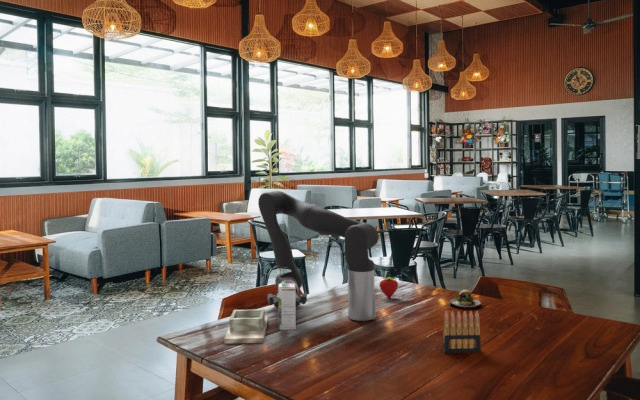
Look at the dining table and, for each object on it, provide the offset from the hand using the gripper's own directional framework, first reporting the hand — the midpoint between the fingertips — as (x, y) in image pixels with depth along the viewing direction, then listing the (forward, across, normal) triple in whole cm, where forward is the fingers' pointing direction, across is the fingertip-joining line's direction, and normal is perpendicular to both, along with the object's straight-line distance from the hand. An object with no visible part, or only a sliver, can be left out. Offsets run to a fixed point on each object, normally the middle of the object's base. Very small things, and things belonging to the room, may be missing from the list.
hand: (286, 304), depth 172 cm
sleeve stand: (+1, -13, +8) cm, 16 cm away
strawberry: (-36, +40, +9) cm, 55 cm away
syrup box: (-2, 0, +9) cm, 9 cm away
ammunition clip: (+24, +51, +9) cm, 57 cm away
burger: (-23, +67, +9) cm, 72 cm away
